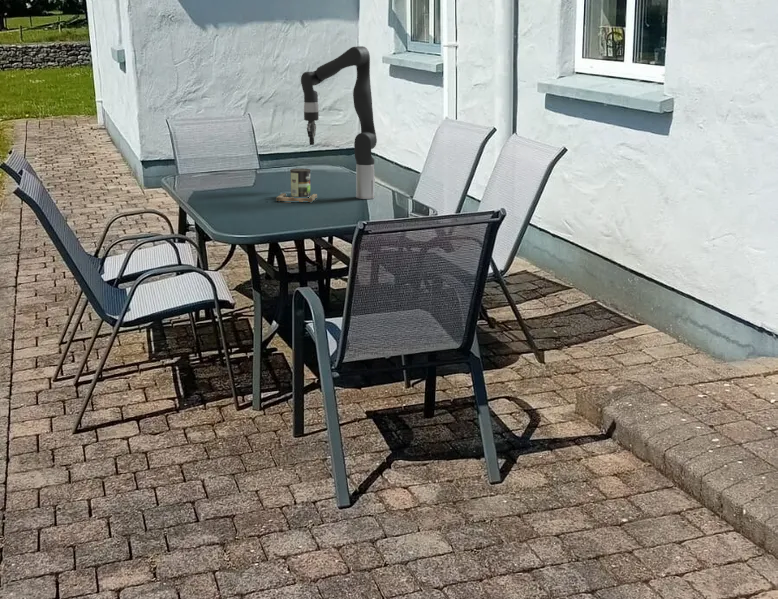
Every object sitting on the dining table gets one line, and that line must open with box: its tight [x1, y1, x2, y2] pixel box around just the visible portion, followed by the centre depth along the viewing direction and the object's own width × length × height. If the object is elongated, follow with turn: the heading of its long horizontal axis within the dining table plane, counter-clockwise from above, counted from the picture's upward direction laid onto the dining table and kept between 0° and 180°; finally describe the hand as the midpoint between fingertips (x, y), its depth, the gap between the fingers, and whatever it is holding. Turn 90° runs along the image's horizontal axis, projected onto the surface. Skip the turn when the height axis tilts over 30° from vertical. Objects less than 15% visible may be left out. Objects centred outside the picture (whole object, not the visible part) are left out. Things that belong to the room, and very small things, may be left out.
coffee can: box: [289, 168, 311, 197], centre depth 502 cm, size 10×10×14 cm
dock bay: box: [275, 192, 318, 202], centre depth 494 cm, size 18×14×2 cm
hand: (311, 144), depth 513 cm, fingers closed
